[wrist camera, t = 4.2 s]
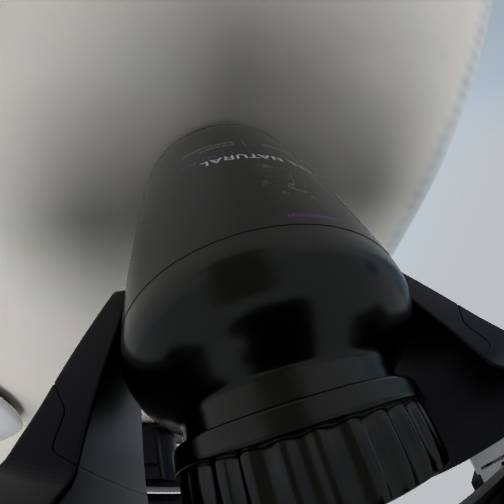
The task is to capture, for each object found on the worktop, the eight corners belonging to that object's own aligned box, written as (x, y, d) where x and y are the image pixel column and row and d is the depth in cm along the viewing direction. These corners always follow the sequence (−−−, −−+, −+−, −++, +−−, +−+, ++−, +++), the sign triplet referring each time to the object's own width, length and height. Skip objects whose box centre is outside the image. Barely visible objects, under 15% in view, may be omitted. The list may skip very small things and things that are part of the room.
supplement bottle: (258, 90, 10) (594, 350, 1) (316, 216, 15) (464, 443, 5) (111, 180, 11) (42, 536, 2) (197, 281, 15) (249, 531, 6)
